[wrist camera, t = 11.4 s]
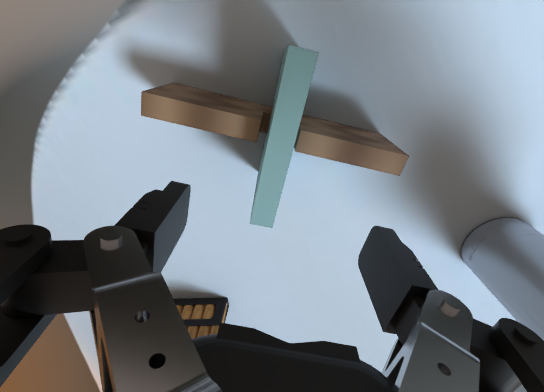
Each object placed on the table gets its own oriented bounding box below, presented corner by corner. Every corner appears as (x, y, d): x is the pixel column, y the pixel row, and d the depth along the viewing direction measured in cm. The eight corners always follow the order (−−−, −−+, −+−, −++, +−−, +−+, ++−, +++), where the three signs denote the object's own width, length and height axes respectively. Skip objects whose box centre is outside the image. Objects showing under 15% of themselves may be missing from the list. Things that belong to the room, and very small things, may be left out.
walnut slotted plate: (380, 133, 32) (409, 155, 25) (373, 149, 33) (399, 175, 26) (173, 82, 30) (141, 91, 23) (172, 101, 31) (141, 115, 24)
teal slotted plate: (303, 53, 29) (318, 52, 18) (273, 175, 35) (272, 227, 24) (284, 48, 29) (289, 44, 18) (258, 171, 35) (249, 223, 24)
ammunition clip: (227, 297, 45) (212, 373, 34) (229, 305, 46) (214, 382, 35) (162, 299, 45) (127, 374, 35) (165, 307, 46) (131, 383, 36)
